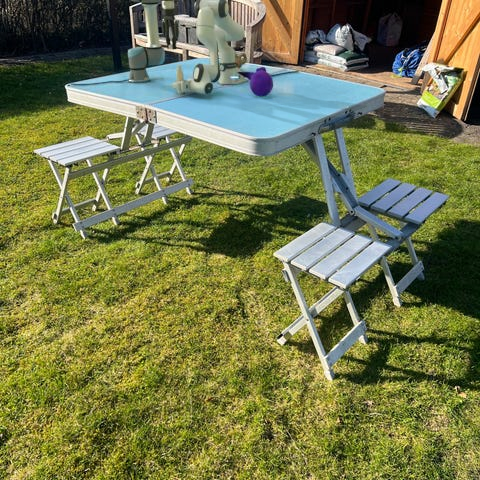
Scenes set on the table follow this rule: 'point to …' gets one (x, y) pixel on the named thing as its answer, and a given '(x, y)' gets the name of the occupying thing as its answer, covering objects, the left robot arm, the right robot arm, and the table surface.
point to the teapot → (238, 59)
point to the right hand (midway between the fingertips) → (179, 82)
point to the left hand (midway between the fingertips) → (171, 48)
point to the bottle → (179, 77)
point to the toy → (259, 81)
